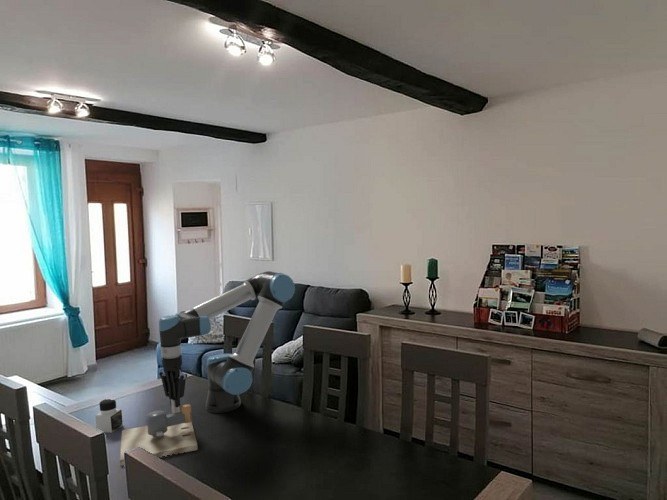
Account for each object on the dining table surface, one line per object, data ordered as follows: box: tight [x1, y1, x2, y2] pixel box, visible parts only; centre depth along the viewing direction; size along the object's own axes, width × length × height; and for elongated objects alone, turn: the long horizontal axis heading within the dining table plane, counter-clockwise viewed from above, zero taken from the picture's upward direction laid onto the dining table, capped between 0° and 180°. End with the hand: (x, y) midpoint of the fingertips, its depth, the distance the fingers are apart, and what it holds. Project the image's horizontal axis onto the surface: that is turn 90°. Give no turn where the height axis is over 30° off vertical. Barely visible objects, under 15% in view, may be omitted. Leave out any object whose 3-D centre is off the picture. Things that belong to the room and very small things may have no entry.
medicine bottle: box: [95, 398, 124, 434], centre depth 204 cm, size 7×7×12 cm
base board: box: [119, 421, 198, 467], centre depth 190 cm, size 26×26×4 cm
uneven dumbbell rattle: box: [146, 403, 193, 436], centre depth 192 cm, size 10×16×7 cm, turn 118°
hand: (176, 414), depth 197 cm, fingers closed
